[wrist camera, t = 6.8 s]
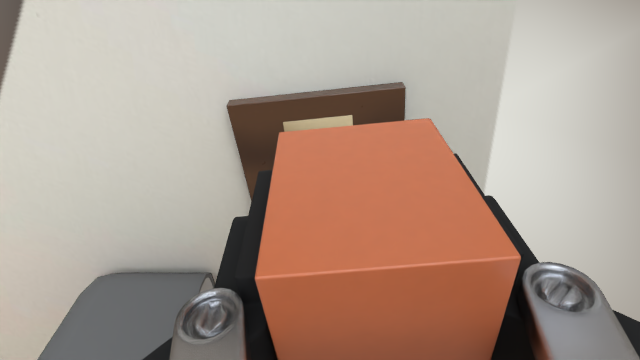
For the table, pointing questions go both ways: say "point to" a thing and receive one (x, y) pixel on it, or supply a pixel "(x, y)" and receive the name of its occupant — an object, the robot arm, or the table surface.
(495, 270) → the terracotta orange cube
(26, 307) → the table surface
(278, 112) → the word board
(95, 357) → the alarm clock
